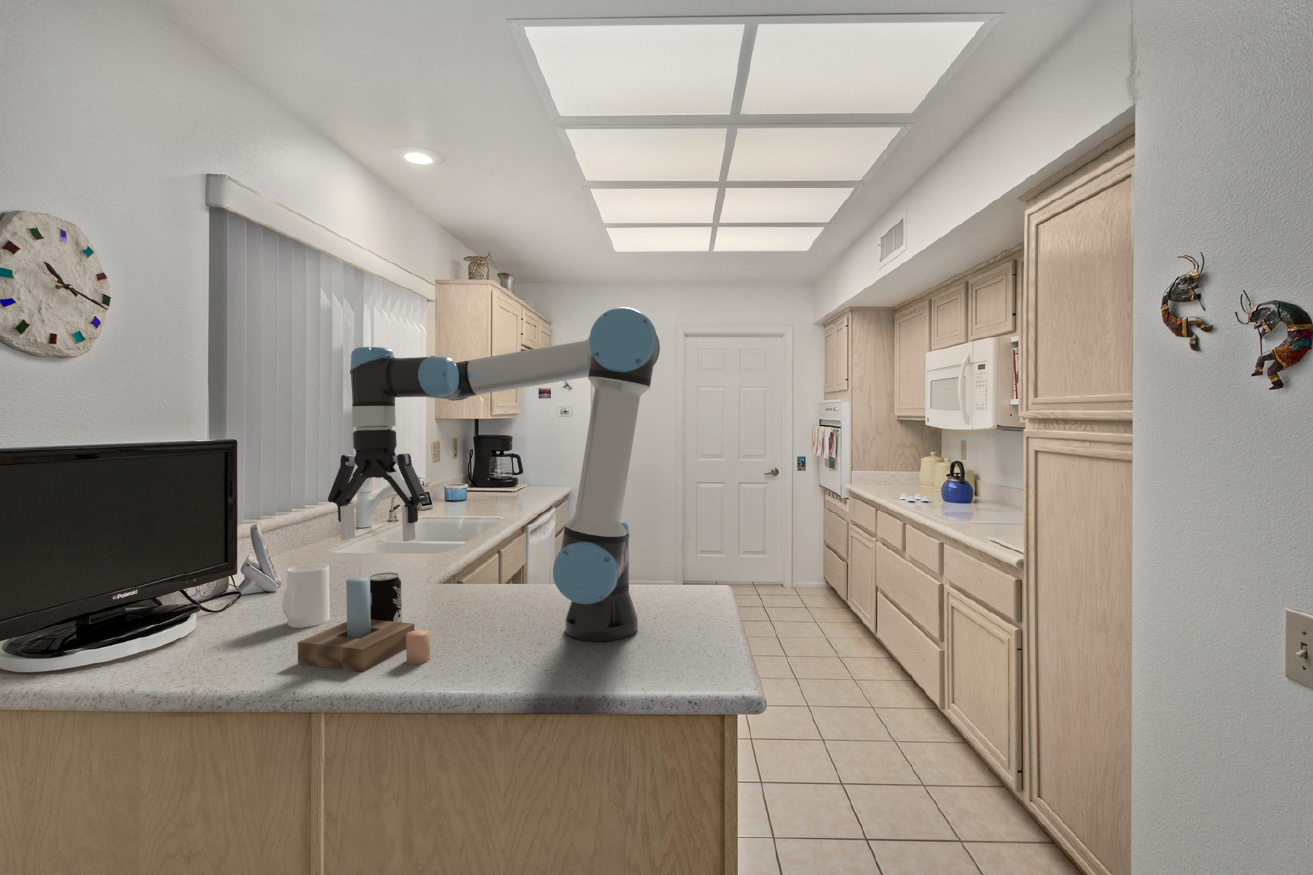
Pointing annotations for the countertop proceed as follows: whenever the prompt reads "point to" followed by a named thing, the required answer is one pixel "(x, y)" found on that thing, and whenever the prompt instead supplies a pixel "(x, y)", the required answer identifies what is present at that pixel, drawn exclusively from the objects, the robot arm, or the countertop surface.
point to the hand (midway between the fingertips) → (378, 539)
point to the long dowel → (358, 607)
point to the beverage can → (385, 597)
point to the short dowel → (417, 647)
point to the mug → (307, 595)
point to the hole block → (354, 646)
